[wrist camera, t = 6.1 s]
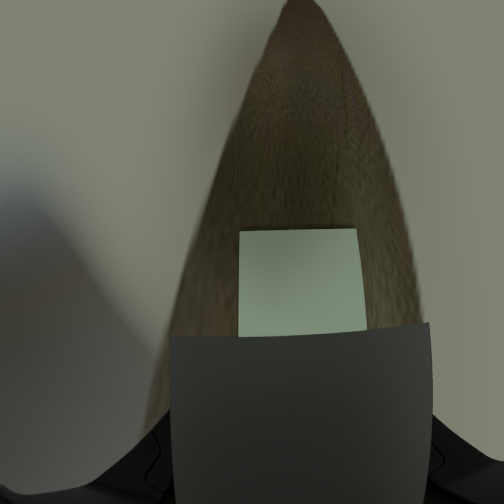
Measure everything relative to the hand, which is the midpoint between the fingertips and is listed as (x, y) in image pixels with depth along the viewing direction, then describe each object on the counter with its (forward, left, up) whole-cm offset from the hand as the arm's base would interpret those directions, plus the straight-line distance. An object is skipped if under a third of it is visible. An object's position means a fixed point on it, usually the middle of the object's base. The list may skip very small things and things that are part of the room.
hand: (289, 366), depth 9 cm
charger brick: (-1, 0, -5) cm, 5 cm away
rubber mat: (+6, -2, -14) cm, 15 cm away
